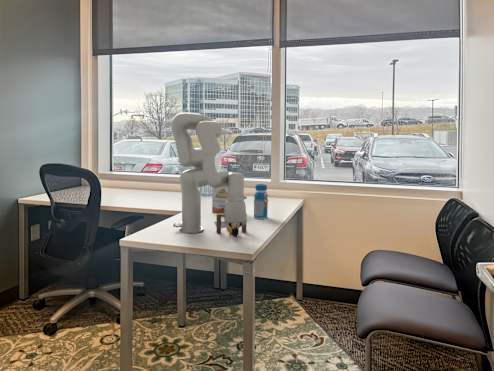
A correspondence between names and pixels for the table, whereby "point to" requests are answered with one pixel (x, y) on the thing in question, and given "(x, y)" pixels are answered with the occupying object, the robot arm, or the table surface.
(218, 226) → the bridge
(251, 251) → the table surface
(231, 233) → the ball
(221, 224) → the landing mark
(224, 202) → the cracker box
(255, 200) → the beverage bottle
